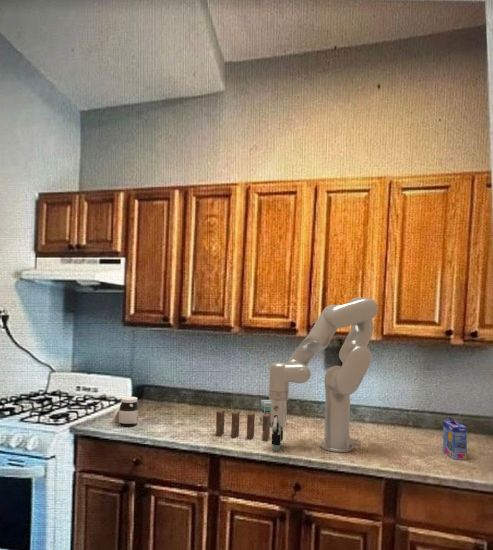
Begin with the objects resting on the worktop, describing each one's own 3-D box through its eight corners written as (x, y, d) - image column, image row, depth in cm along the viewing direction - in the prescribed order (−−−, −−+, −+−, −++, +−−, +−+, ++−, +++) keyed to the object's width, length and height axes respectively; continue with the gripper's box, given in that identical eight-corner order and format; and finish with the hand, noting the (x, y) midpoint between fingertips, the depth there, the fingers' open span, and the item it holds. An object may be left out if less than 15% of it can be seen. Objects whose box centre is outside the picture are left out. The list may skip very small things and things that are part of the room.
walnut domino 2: (238, 435, 215) (239, 410, 216) (235, 438, 211) (236, 413, 211) (234, 434, 216) (234, 410, 216) (231, 437, 211) (231, 413, 211)
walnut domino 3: (254, 436, 214) (254, 412, 214) (251, 439, 209) (252, 414, 209) (249, 436, 214) (250, 411, 215) (246, 439, 209) (247, 414, 210)
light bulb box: (263, 427, 229) (264, 402, 230) (259, 423, 236) (260, 399, 236) (286, 426, 232) (287, 402, 232) (281, 422, 239) (282, 399, 239)
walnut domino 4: (269, 438, 212) (270, 413, 213) (267, 441, 208) (267, 416, 208) (264, 437, 213) (265, 413, 213) (262, 440, 208) (263, 415, 208)
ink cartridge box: (441, 451, 201) (442, 414, 202) (455, 451, 202) (456, 414, 202) (452, 459, 192) (453, 420, 192) (467, 460, 192) (468, 420, 192)
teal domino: (280, 447, 200) (281, 421, 201) (278, 450, 195) (279, 424, 196) (275, 446, 201) (276, 420, 201) (273, 450, 196) (274, 423, 196)
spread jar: (134, 428, 221) (135, 400, 221) (108, 427, 221) (109, 399, 221) (140, 421, 233) (141, 395, 233) (115, 420, 233) (116, 394, 233)
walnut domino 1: (223, 433, 217) (224, 409, 217) (220, 436, 212) (221, 412, 212) (219, 433, 217) (220, 409, 218) (215, 436, 212) (216, 411, 213)
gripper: (284, 400, 190) (283, 450, 189) (291, 391, 206) (290, 437, 206) (264, 398, 191) (263, 448, 191) (273, 390, 208) (271, 435, 207)
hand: (277, 442), depth 198 cm, fingers open, 5 cm apart
